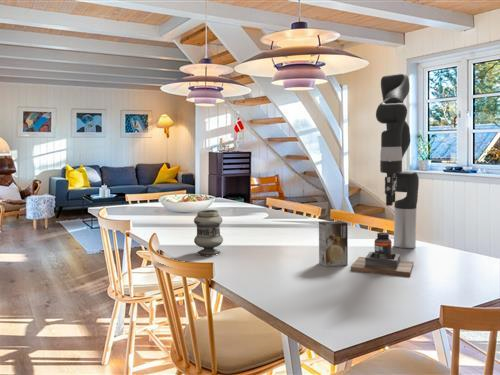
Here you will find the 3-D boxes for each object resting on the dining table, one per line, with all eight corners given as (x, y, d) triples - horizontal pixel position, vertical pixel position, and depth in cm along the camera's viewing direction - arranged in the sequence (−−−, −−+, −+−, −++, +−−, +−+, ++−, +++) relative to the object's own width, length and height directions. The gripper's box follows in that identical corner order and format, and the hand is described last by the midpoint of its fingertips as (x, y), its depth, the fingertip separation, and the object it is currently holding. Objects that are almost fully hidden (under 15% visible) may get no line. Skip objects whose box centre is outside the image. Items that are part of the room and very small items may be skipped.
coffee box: (340, 261, 177) (340, 220, 176) (348, 265, 171) (348, 222, 169) (318, 263, 174) (318, 221, 173) (325, 267, 168) (325, 223, 167)
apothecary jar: (188, 255, 189) (187, 211, 187) (204, 249, 199) (204, 208, 198) (213, 258, 183) (212, 213, 182) (228, 252, 194) (228, 209, 192)
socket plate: (358, 260, 178) (358, 249, 177) (413, 265, 170) (413, 253, 169) (350, 270, 163) (350, 258, 163) (410, 276, 155) (410, 263, 155)
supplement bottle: (388, 262, 169) (388, 231, 168) (393, 266, 163) (394, 234, 162) (372, 262, 169) (372, 231, 168) (377, 266, 163) (377, 234, 162)
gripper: (382, 158, 174) (382, 201, 175) (377, 160, 161) (377, 206, 162) (403, 158, 171) (403, 201, 172) (400, 160, 158) (399, 207, 159)
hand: (390, 203), depth 167 cm, fingers open, 8 cm apart
